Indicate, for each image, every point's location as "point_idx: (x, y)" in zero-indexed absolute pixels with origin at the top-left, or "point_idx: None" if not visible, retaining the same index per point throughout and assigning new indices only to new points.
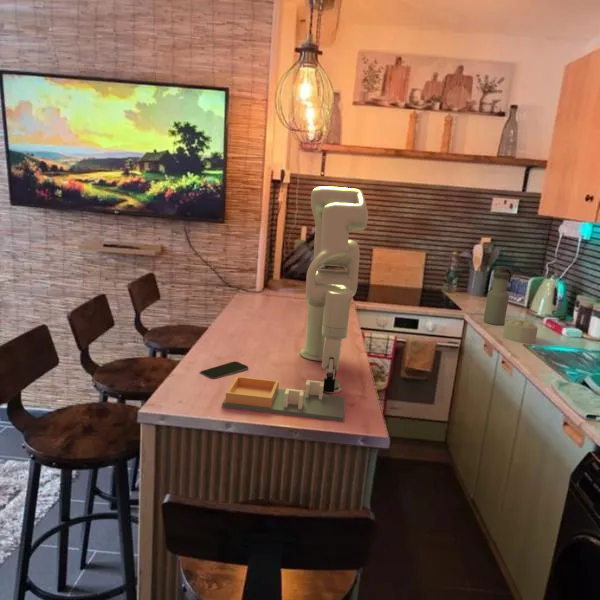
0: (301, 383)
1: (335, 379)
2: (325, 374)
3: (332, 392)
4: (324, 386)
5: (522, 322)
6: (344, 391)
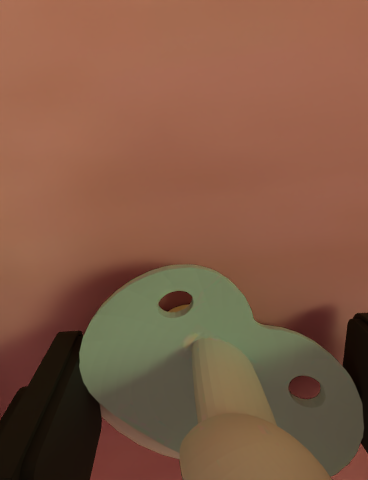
0: (300, 4)
1: (345, 450)
2: (211, 472)
3: None
4: (43, 374)
5: None
6: None
